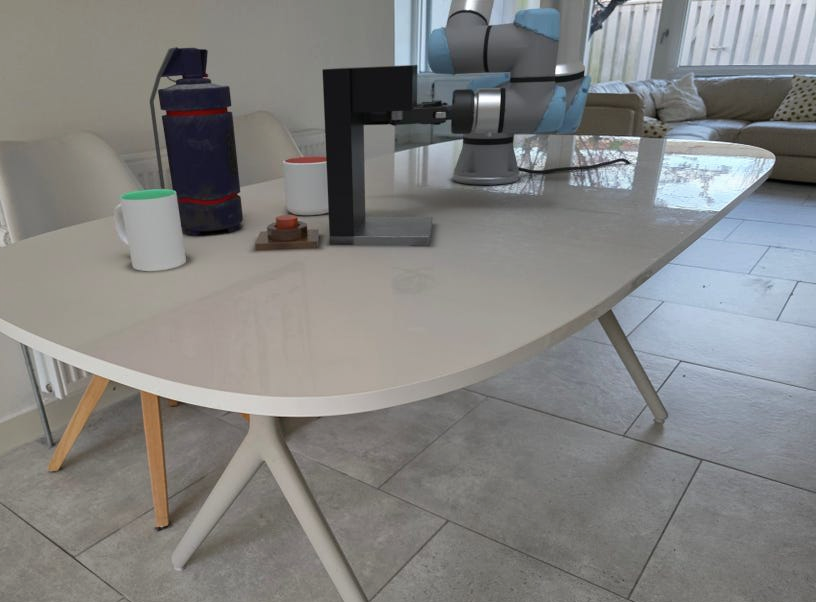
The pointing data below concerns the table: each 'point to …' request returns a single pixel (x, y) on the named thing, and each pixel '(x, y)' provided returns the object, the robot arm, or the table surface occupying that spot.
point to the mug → (151, 229)
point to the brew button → (286, 221)
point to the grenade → (198, 143)
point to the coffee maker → (345, 152)
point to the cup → (306, 185)
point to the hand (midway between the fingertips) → (357, 114)
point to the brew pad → (287, 238)
